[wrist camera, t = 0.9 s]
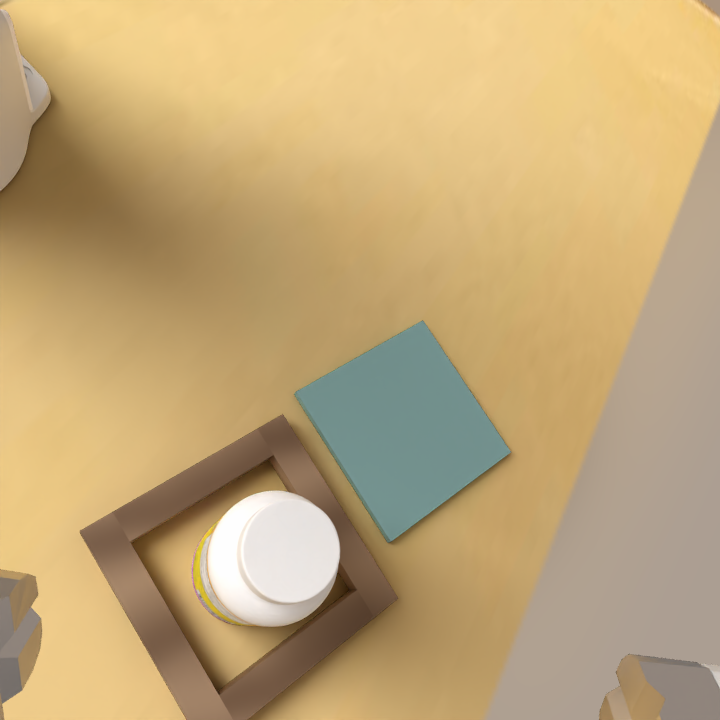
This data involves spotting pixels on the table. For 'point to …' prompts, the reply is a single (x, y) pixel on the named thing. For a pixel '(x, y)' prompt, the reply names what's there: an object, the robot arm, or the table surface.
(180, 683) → the brown wooden square frame
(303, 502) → the supplement bottle
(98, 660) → the table surface
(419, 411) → the teal mat
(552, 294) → the table surface
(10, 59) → the robot arm
